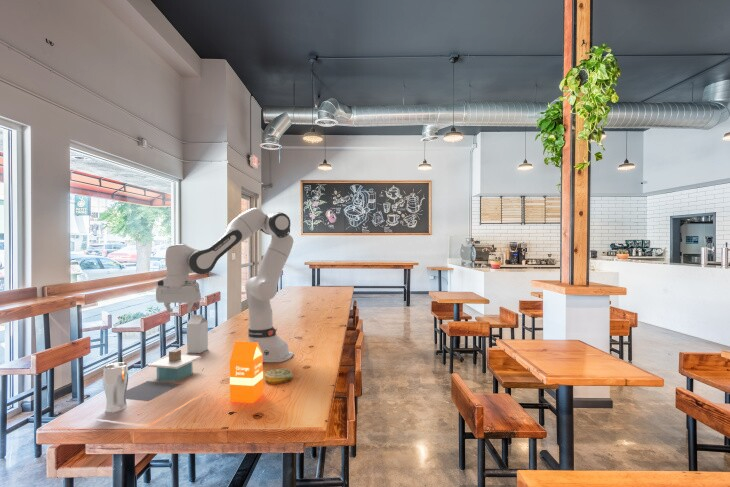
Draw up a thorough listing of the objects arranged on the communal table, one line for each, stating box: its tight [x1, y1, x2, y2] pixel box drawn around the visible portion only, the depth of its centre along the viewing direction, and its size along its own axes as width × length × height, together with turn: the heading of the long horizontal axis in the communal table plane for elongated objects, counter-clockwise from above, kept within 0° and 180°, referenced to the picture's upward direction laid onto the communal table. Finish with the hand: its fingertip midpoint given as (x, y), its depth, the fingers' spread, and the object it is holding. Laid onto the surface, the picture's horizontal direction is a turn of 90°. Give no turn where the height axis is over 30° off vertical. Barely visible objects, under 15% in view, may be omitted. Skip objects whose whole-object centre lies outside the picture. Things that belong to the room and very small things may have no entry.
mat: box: [126, 380, 182, 402], centre depth 138 cm, size 16×16×1 cm
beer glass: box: [102, 361, 129, 413], centre depth 123 cm, size 7×7×15 cm
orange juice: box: [229, 341, 264, 404], centre depth 131 cm, size 8×9×20 cm
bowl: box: [156, 361, 194, 382], centre depth 154 cm, size 13×13×6 cm
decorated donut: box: [264, 367, 293, 385], centre depth 148 cm, size 10×11×4 cm
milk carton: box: [186, 314, 209, 354], centre depth 190 cm, size 7×7×19 cm
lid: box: [147, 349, 202, 369], centre depth 154 cm, size 14×14×5 cm
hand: (179, 312), depth 159 cm, fingers open, 8 cm apart
